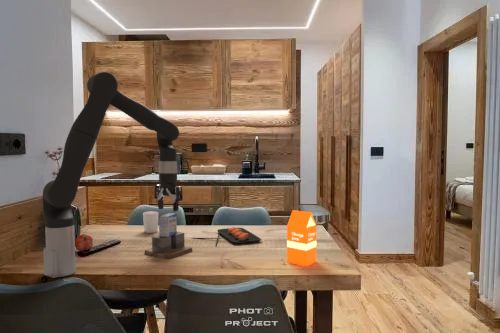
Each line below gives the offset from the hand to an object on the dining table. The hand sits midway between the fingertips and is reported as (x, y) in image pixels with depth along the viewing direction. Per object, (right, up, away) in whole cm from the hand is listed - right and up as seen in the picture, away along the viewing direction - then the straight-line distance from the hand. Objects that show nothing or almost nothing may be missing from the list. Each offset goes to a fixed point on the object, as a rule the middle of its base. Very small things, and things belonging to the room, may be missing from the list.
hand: (168, 210), depth 162 cm
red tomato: (-37, -18, +4) cm, 42 cm away
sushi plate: (+21, -17, +25) cm, 37 cm away
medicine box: (0, -11, +1) cm, 11 cm away
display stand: (0, -18, +1) cm, 18 cm away
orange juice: (+55, -19, -12) cm, 59 cm away
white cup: (-18, -16, +40) cm, 47 cm away
